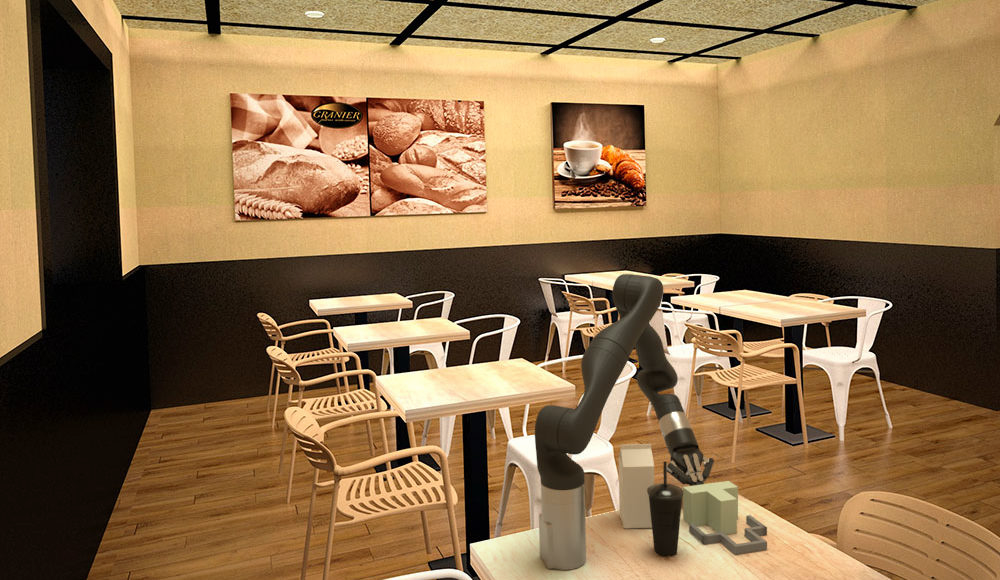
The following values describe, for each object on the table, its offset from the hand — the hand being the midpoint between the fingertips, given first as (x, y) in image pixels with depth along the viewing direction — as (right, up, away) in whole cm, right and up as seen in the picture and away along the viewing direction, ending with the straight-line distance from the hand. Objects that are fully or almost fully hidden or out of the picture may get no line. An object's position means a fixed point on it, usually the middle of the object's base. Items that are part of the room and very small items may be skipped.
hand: (702, 498), depth 171 cm
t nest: (+3, -5, -13) cm, 14 cm away
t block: (+2, -4, -6) cm, 8 cm away
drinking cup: (-13, -7, -17) cm, 23 cm away
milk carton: (-16, -5, -3) cm, 17 cm away
